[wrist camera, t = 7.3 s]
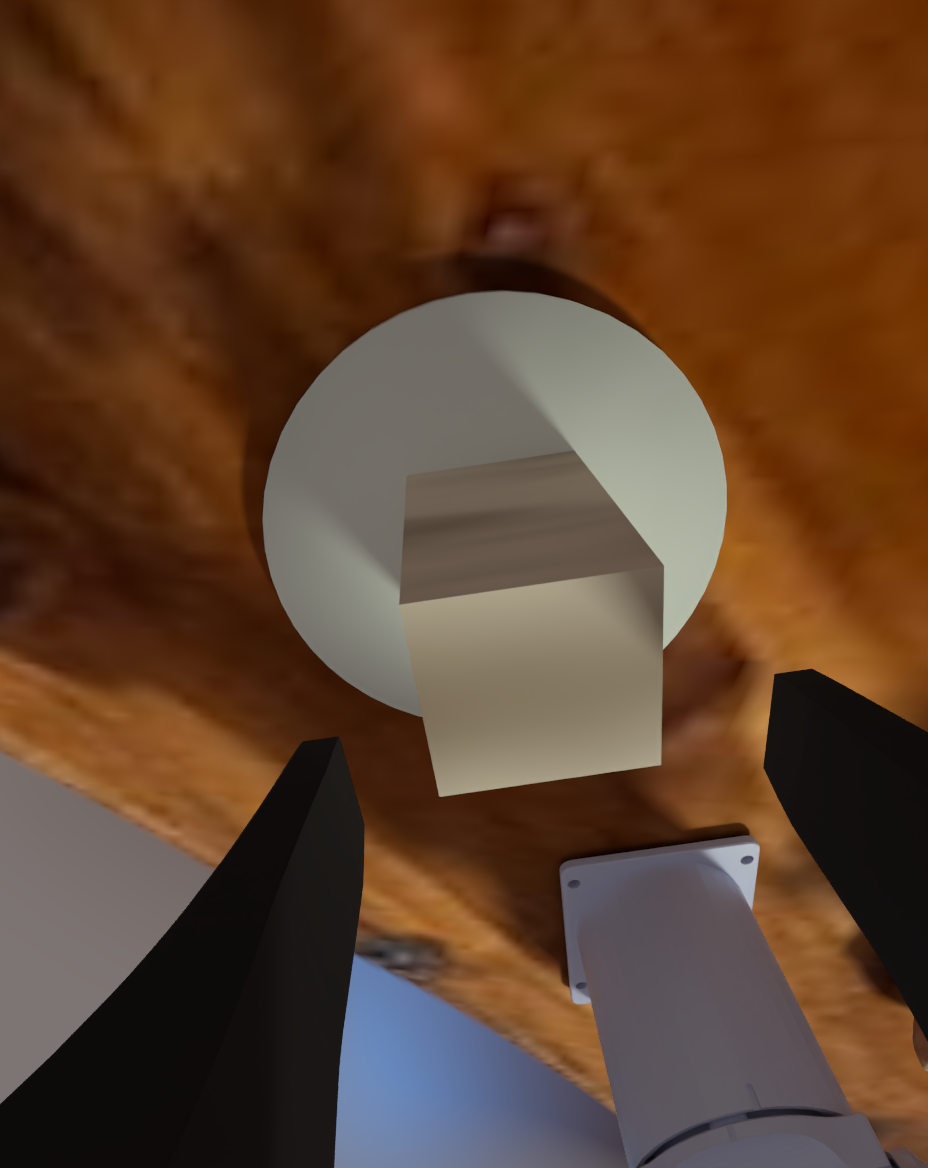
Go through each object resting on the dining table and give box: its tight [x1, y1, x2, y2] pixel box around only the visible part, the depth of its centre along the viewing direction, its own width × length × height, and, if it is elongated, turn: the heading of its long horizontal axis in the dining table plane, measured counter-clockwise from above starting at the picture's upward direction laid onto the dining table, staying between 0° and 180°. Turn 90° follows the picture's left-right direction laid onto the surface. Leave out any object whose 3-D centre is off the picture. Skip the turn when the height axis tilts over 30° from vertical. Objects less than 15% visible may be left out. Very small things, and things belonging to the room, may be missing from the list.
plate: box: [263, 290, 727, 717], centre depth 18 cm, size 13×13×1 cm
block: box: [399, 451, 664, 797], centre depth 15 cm, size 4×4×7 cm
